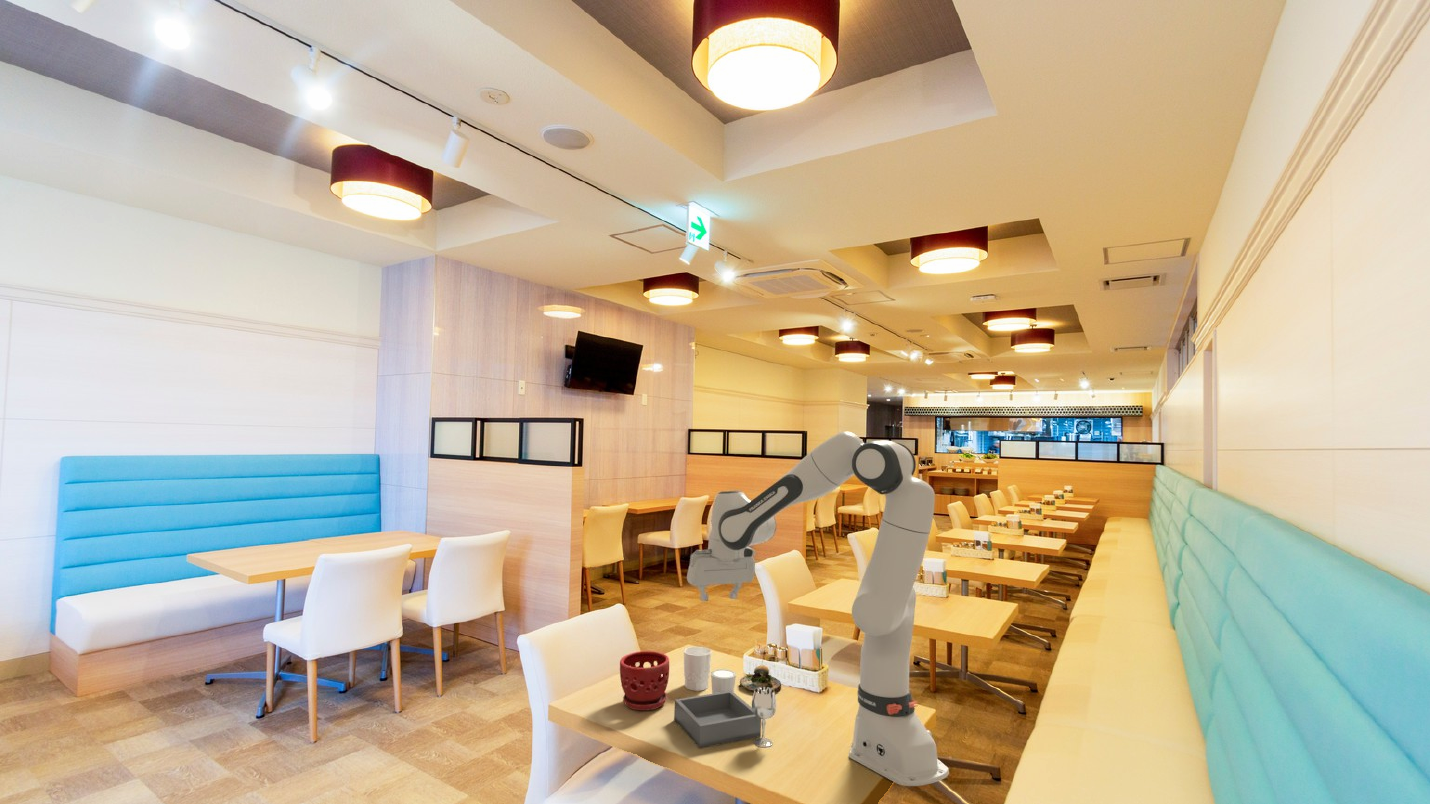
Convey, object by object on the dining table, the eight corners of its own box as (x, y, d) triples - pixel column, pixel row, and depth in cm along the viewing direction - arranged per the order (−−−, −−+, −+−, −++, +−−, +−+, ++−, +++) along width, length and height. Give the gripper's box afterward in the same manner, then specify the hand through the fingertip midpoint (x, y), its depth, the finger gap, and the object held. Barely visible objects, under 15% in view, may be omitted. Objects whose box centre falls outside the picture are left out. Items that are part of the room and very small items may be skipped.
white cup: (710, 692, 182) (711, 656, 182) (681, 691, 182) (683, 655, 182) (710, 681, 190) (711, 646, 190) (683, 680, 190) (684, 646, 190)
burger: (731, 689, 185) (732, 662, 185) (753, 677, 195) (753, 651, 195) (768, 699, 178) (768, 672, 179) (788, 686, 188) (789, 660, 188)
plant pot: (632, 691, 181) (634, 647, 182) (676, 699, 176) (677, 654, 177) (609, 709, 169) (611, 662, 169) (655, 718, 164) (656, 670, 165)
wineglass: (768, 750, 149) (769, 697, 149) (746, 744, 152) (747, 691, 152) (779, 741, 154) (780, 689, 154) (758, 734, 157) (759, 684, 157)
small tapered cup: (732, 705, 173) (733, 679, 173) (707, 703, 174) (708, 676, 175) (737, 695, 180) (737, 670, 180) (712, 693, 181) (713, 667, 181)
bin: (760, 736, 156) (761, 715, 156) (699, 748, 149) (700, 726, 149) (730, 710, 170) (731, 690, 170) (674, 719, 163) (674, 699, 164)
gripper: (697, 553, 169) (692, 605, 169) (760, 550, 180) (754, 600, 180) (685, 547, 174) (680, 598, 174) (747, 545, 185) (741, 593, 185)
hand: (718, 599), depth 177 cm, fingers open, 8 cm apart
